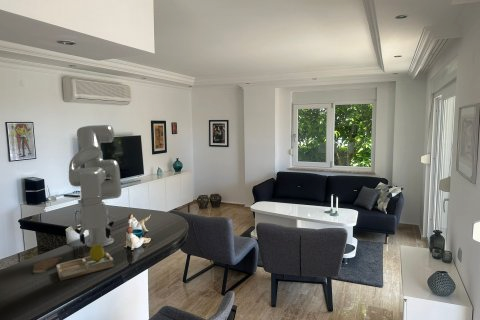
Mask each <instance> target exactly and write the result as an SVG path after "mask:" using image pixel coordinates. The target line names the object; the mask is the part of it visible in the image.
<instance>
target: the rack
mask: <svg viewBox="0 0 480 320" xmlns="http://www.w3.org/2000/svg"><path fill="white" fill-rule="evenodd" d="M114 260H115V259H114V258H113V257H112V255H111V254H109V252H108V251H104V257H103V258H102V260H100V261H99V262H96V261H93V260H92V259H91V257H90V255H89V256H86V257H82V258H77V259H73V260H69V261H64V262H60V263H57V264H56V265H55V266H56V273H57V275H58V278H59V279H60V281H65V280H68V279H72V278H76V277H80V276H84V275H88V274H90V273H91V274H92V273H94V272H98V271H102V270H106V269H110V268H113V267H115V261H114Z"/></svg>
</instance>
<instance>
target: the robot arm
mask: <svg viewBox="0 0 480 320" xmlns="http://www.w3.org/2000/svg"><path fill="white" fill-rule="evenodd" d="M76 137H77V141H78V144H79V146H80V151H78V152H76V153H75V154H74V156H73V157H72V158H71V160H70V161H69V165H68V181H69V184H70V185H71V186H72V187H80V195H81V198H80V199H78V200H77V202H78V203H77V204H81V205H80V207H79V208H80V210H79V219H78V220H77V221H75V222H74V223H72V224H70V226H71V228H72V230H73V231H74V232H76V234H78V235H79V242H80V243H82V244H83V245H85V244H86V247H88V248H90V249H91V248H92V246H94V245H95V244H98V245H101V246H102V247H103V248H104V247H107V246H109V245H112V244H113V243H114V241H115V239H114V238H113V237H111V229H112V226H113V225H114V224H115V222H116V219H117V218H116V216H114V215H110V214H109V209H108V206H107V205H106V203H105V202H104V200H111V199H112V200H114V199H118V198H120V197H121V195H122V185H121V184H122V183H121V182H122V181H121V171H120V165H119V163H118V161H117V160H115V159H104V158H103V151H102V149H101V144H102V143H104V144H105V143H112V142H113V141H114V139H115V131H114V128H113V126H112V125H111V124H110V125H109V124H102V125H101V124H99V125H85V126H81V127H79V128H78V129H77V131H76ZM82 165H84V167H83V168H79V167H81V166H82ZM106 179H107V180H106ZM109 219H110V220H109ZM77 226H80V229H78V228H77ZM86 231H88V234H89V236H88V237H89V240H88V241H87V243H86V238H85V234H84V233H85V232H86Z"/></svg>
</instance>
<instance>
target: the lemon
mask: <svg viewBox="0 0 480 320" xmlns="http://www.w3.org/2000/svg"><path fill="white" fill-rule="evenodd" d="M104 253H105V250H104V247H102V246H101V245H98V244H95V245H94V246H92V248H90V250H89V256H90V257H91V259H92V260H93V261H96V262H99V261H100V260H102V258H103V257H104Z"/></svg>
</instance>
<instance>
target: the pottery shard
mask: <svg viewBox="0 0 480 320" xmlns="http://www.w3.org/2000/svg"><path fill="white" fill-rule="evenodd" d="M62 260H63V257H62V256H60V257H49V258H47V259H43V260H41V261H38V262H36V263H34V265H32V268H33V269H32V273H33V274H42V273H45V272H46V271H48V270H49V269H51V268H53V267H54V266H56V264H59V262H60V261H62Z"/></svg>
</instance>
